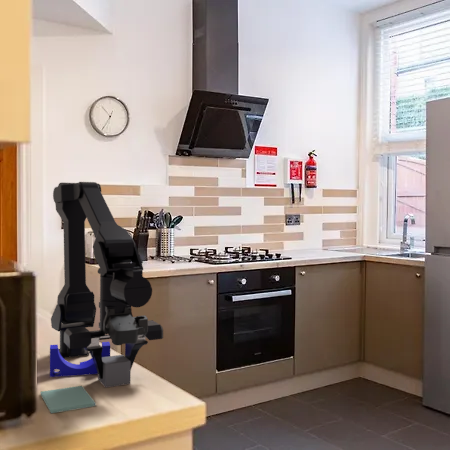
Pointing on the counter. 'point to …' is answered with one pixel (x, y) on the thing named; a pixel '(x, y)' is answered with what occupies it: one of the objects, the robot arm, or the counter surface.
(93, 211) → the robot arm
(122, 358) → the gray cube block
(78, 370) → the blue arched bracket
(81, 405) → the teal board
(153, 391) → the counter surface
